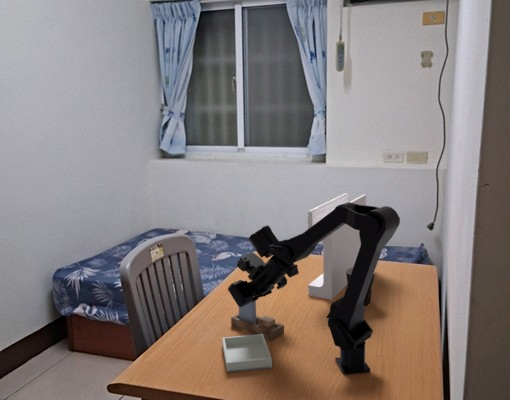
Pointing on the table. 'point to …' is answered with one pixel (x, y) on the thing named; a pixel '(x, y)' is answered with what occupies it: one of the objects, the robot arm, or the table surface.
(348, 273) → the coffee mug
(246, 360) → the tray
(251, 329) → the rack
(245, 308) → the pale blue tall block
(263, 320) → the offcut
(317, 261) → the table surface
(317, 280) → the white piece
